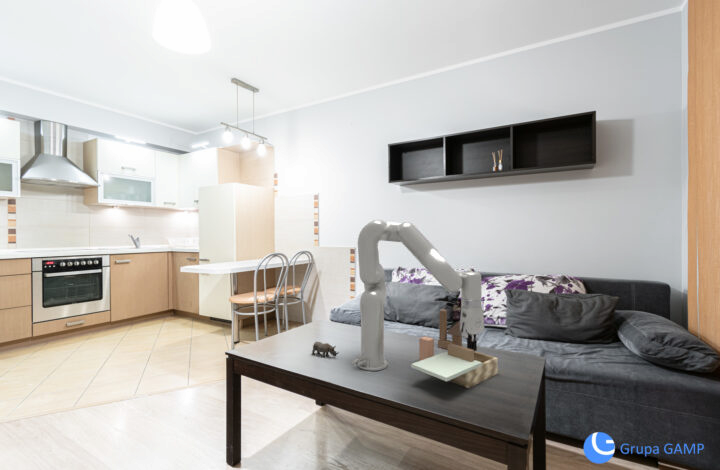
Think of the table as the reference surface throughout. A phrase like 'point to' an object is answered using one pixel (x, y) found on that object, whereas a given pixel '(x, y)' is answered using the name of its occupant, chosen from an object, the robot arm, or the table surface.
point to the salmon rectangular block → (426, 348)
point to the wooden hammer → (443, 331)
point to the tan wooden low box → (478, 371)
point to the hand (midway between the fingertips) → (471, 350)
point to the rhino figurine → (323, 349)
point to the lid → (449, 363)
